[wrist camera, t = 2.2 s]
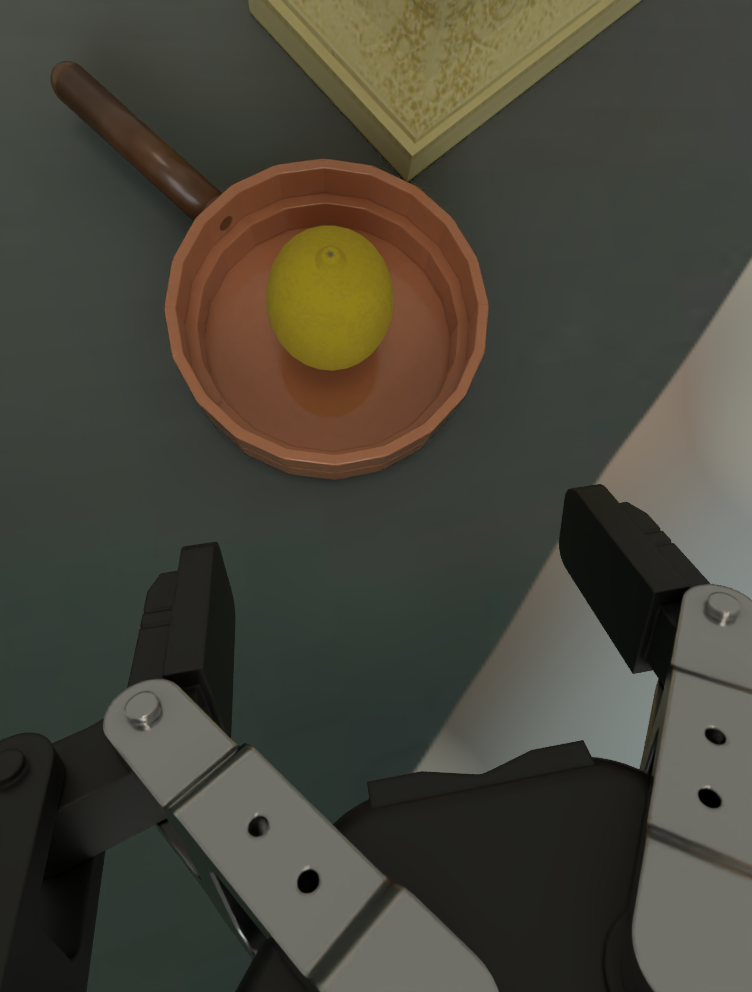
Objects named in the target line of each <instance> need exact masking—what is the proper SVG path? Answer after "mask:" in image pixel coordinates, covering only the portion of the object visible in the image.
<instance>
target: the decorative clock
mask: <svg viewBox="0 0 752 992" xmlns="http://www.w3.org/2000/svg"><path fill="white" fill-rule="evenodd" d="M248 1H249V9H250V13H251V14H252V15H253V16H254V17H255V18H256V20H257V21H258V22H259V23H260V24H261V25H262V26H263V27H264V28H265V29H266V30H267V31H268V33H269V34H270V35H271V36H272V37H273V38H274V39H275V40H276V41H277V42H278V43H279V44H280V46H281V47H282V48H283V49H284V50H285V51H286V52H287V53H288V54H289V55H290V56H291V57H292V59H293V60H294V61H295V62H296V63H297V64H298V65H299V66H300V67H301V68H302V69H303V70H304V72H305V73H306V74H307V75H308V76H309V77H310V78H311V79H312V80H313V81H314V82H315V83H316V85H317V86H318V87H319V88H320V89H321V90H322V91H323V92H324V93H325V94H326V95H327V96H328V98H329V99H330V100H331V101H332V102H333V103H334V104H335V105H336V106H337V107H338V108H339V109H340V110H341V112H342V113H343V114H344V115H345V116H346V117H347V118H348V119H349V120H350V121H351V122H352V123H353V125H354V126H355V127H356V128H357V129H358V130H359V131H360V132H361V133H362V134H363V135H364V136H365V138H366V139H367V140H368V141H369V142H370V143H371V144H372V145H373V146H374V147H375V148H376V149H377V151H378V152H379V153H380V154H381V155H382V156H383V157H384V158H385V159H386V160H387V161H388V162H389V164H390V165H391V166H392V167H393V168H394V169H395V170H396V171H397V172H398V173H399V174H400V175H401V177H402V178H403V179H404V180H405V181H406V182H408V181H410V180H411V179H412V178H413V177H415V176H416V175H417V174H419V173H420V172H421V171H423V170H424V169H425V168H426V167H428V166H429V165H430V164H432V163H433V162H434V161H435V160H437V159H438V158H439V157H441V156H442V155H443V154H444V153H446V152H447V151H448V150H450V149H451V148H452V147H453V146H455V145H456V144H457V143H459V142H460V141H461V140H462V139H464V138H465V137H466V136H468V135H469V134H470V133H471V132H473V131H474V130H475V129H477V128H478V127H479V126H480V125H482V124H483V123H484V122H486V121H487V120H488V119H489V118H491V117H492V116H493V115H495V114H496V113H497V112H499V111H500V110H501V109H502V108H504V107H505V106H506V105H508V104H509V103H510V102H511V101H513V100H514V99H515V98H517V97H518V96H519V95H520V94H522V93H523V92H524V91H526V90H527V89H528V88H529V87H531V86H532V85H533V84H535V83H536V82H537V81H538V80H540V79H541V78H542V77H544V76H545V75H546V74H547V73H549V72H550V71H551V70H553V69H554V68H555V67H556V66H558V65H559V64H560V63H562V62H563V61H564V60H566V59H567V58H568V57H569V56H571V55H572V54H573V53H575V52H576V51H577V50H578V49H580V48H581V47H582V46H584V45H585V44H586V43H587V42H589V41H590V40H591V39H593V38H594V37H595V36H596V35H598V34H599V33H600V32H602V31H603V30H604V29H605V28H607V27H608V26H609V25H611V24H612V23H613V22H614V21H616V20H617V19H618V18H620V17H621V16H622V15H623V14H625V13H626V12H627V11H629V10H630V9H631V8H632V7H634V6H635V5H636V4H638V3H639V2H640V1H642V0H248Z"/></svg>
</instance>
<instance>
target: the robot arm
mask: <svg viewBox="0 0 752 992" xmlns="http://www.w3.org/2000/svg"><path fill="white" fill-rule="evenodd" d="M559 550H560V555H561V559H562V562H563V564H564V566H565V568H566V569H567V571H568V573H569V574H570V575H571V577H572V579H573V580H574V582H575V584H576V585H577V587H578V588H579V590H580V591H581V593H582V594H583V596H584V598H585V599H586V601H587V602H588V604H589V606H590V607H591V609H592V610H593V612H594V613H595V615H596V616H597V618H598V620H599V621H600V623H601V624H602V626H603V628H604V629H605V631H606V632H607V634H608V635H609V637H610V639H611V640H612V642H613V643H614V645H615V646H616V648H617V650H618V651H619V653H620V654H621V656H622V657H623V659H624V660H625V662H626V664H627V665H628V667H629V668H630V670H631V672H632V673H633V674H635V673H641V672H646V671H651V670H653V671H654V672H655V674H656V675H657V677H658V678H659V679H658V682H657V685H656V689H655V694H654V699H653V705H652V710H651V715H650V720H649V725H648V731H647V736H646V741H645V746H644V751H643V757H642V761H641V765H640V769H637V768H634V767H632V766H629V765H627V764H624V763H620V762H617V761H613V760H608V759H603V758H595V757H591V755H590V753H589V751H588V749H587V747H586V745H585V743H584V741H583V740H581V741H576V742H571V743H566V744H561V745H556V746H550V747H545V748H540V749H535V750H531V751H529V752H527V753H525V754H523V755H521V756H519V757H517V758H515V759H513V760H511V761H509V762H507V763H505V764H503V765H500V766H498V767H496V768H494V769H492V770H490V771H488V772H486V773H483V774H457V773H440V772H416V773H411V774H406V775H401V776H396V777H390V778H385V779H380V780H375V781H370V782H367V785H368V792H369V800H367V801H365V802H363V803H361V804H359V805H357V806H356V807H354V808H353V809H351V810H350V811H348V812H347V813H345V814H344V815H343V816H342V817H341V818H339V819H338V820H337V821H336V822H335V823H334V824H333V825H332V824H331V823H330V822H329V821H328V820H327V819H326V818H325V817H324V816H323V815H322V814H321V813H320V812H319V811H318V810H317V809H316V808H315V807H314V806H313V805H312V804H311V803H310V802H309V801H308V800H307V799H306V798H305V797H304V796H303V795H302V794H301V793H300V792H299V791H298V790H297V789H296V788H295V787H294V786H293V785H292V784H291V783H290V782H289V781H288V780H287V779H286V778H284V777H283V776H282V775H281V774H280V773H279V772H278V771H277V770H276V769H275V768H274V767H273V766H272V765H271V764H270V763H269V762H268V761H267V760H266V759H265V758H264V757H263V756H262V755H261V754H260V753H259V752H258V751H257V750H256V749H255V748H253V747H252V746H251V745H249V744H247V743H244V744H243V745H242V746H238V745H237V744H236V743H234V742H233V741H232V740H231V726H232V699H233V671H234V644H235V607H234V600H233V594H232V590H231V587H230V583H229V579H228V576H227V572H226V569H225V565H224V561H223V558H222V554H221V550H220V547H219V545H218V543H217V542H211V543H204V544H198V545H191V546H185V547H182V549H181V555H180V561H179V567H178V571H174V572H167V573H161V574H160V575H159V577H158V578H157V579H156V581H155V582H154V583H153V585H152V586H151V587H150V589H149V590H148V592H147V596H146V601H145V606H144V614H143V615H142V620H141V625H140V626H141V629H140V630H139V635H138V639H137V644H136V649H135V654H134V658H133V663H132V668H131V673H130V677H129V682H128V686H127V689H125V690H124V691H123V692H121V693H120V694H119V695H118V696H117V697H116V698H115V699H114V700H113V701H112V702H111V704H110V705H109V707H108V708H107V710H106V713H105V715H104V718H103V719H102V720H100V721H99V722H97V723H96V724H94V725H92V726H90V727H88V728H86V729H84V730H82V731H79V732H77V733H75V734H73V735H71V736H68V737H66V738H64V739H62V740H59V741H57V742H55V743H53V744H51V742H50V741H49V739H47V738H46V737H45V736H43V735H41V734H37V733H22V734H17V735H13V736H10V737H8V738H6V739H3V740H1V741H0V992H86V990H87V982H88V975H89V967H90V960H91V953H92V945H93V938H94V930H95V923H96V915H97V908H98V901H99V893H100V886H101V878H102V871H103V864H104V856H105V850H107V849H109V848H111V847H113V846H115V845H117V844H119V843H120V842H122V841H124V840H126V839H128V838H130V837H132V836H134V835H136V834H138V833H140V832H141V831H143V830H145V829H147V828H149V827H151V826H153V825H155V826H156V828H157V829H158V830H159V832H160V833H161V834H162V835H163V837H164V838H165V839H166V841H167V842H168V843H169V845H170V846H171V847H172V849H173V850H174V851H175V853H176V854H177V855H178V856H179V858H180V859H181V860H182V862H183V863H184V864H185V866H186V867H187V868H188V870H189V871H190V872H191V874H192V875H193V876H194V877H195V879H196V880H197V881H198V883H199V884H200V885H201V887H202V888H203V889H204V891H205V892H206V894H207V895H208V897H209V898H210V900H211V901H212V903H213V904H214V906H215V907H216V909H217V911H218V912H219V914H220V915H221V917H222V918H223V920H224V921H225V923H226V924H227V925H228V927H229V928H230V930H231V931H232V932H233V934H234V935H235V936H236V938H237V939H238V940H239V942H240V943H241V944H242V946H243V947H244V948H245V950H246V951H247V952H248V954H249V955H250V956H251V958H252V959H253V960H252V962H251V964H250V966H249V968H248V970H247V971H246V973H245V975H244V977H243V979H242V980H241V982H240V984H239V986H238V988H237V990H236V991H235V992H752V600H751V599H750V598H749V597H747V596H746V595H744V594H742V593H741V592H739V591H737V590H734V589H732V588H728V587H725V586H721V585H714V584H710V583H709V582H708V581H707V579H706V578H705V577H704V576H703V575H702V574H701V573H700V572H699V570H698V569H697V568H696V567H695V566H694V565H693V564H692V563H691V562H690V560H689V559H688V558H687V557H686V556H685V555H684V554H683V553H682V552H681V551H680V549H679V548H678V547H677V546H676V545H675V544H674V543H671V539H670V538H669V537H668V536H667V535H666V534H665V533H664V532H663V531H661V530H660V527H659V526H658V525H657V524H656V523H655V522H654V521H653V520H652V519H651V517H649V515H648V514H647V513H645V512H644V511H642V510H640V509H638V508H637V507H635V506H633V505H631V504H630V503H628V502H623V503H619V502H618V501H617V500H616V499H615V498H614V496H613V495H612V494H611V493H610V492H609V491H608V489H607V488H606V487H605V486H603V485H601V484H598V485H591V486H585V487H578V488H571V489H568V490H567V492H566V494H565V499H564V507H563V515H562V522H561V530H560V537H559Z"/></svg>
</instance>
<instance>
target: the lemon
mask: <svg viewBox="0 0 752 992" xmlns="http://www.w3.org/2000/svg"><path fill="white" fill-rule="evenodd" d="M393 304H394V296H393V289H392V282H391V277H390V274H389V272H388V269H387V267H386V264H385V262H384V260H383V258H382V256H381V255H380V254H379V252H378V251H377V250H376V248H375V247H374V246H373V244H372V243H370V242H369V241H368V240H367V239H366V238H364V237H363V236H362V235H360V234H358V233H356V232H354V231H352V230H350V229H347V228H343V227H339V226H318V227H314V228H310V229H307V230H305V231H303V232H301V233H299V234H297V235H295V236H294V237H293V238H292V239H291V240H290V241H289V242H288V243H286V244H285V245H284V246H283V248H282V249H281V251H280V252H279V254H278V255H277V257H276V259H275V260H274V262H273V265H272V268H271V271H270V274H269V278H268V281H267V289H266V308H267V312H268V316H269V320H270V324H271V327H272V329H273V331H274V333H275V335H276V337H277V339H278V340H279V342H280V344H281V345H282V346H283V347H284V348H285V349H286V350H287V351H288V352H289V354H290V355H291V356H293V357H294V358H296V359H297V360H299V361H300V362H302V363H303V364H305V365H307V366H310V367H313V368H316V369H319V370H330V371H334V370H341V369H347V368H349V367H352V366H354V365H357V364H359V363H361V362H362V361H363V360H365V359H366V358H367V357H369V356H370V355H371V354H373V352H374V351H375V350H376V348H377V347H378V346H379V345H380V343H381V342H382V341H383V339H384V337H385V335H386V332H387V330H388V328H389V325H390V323H391V319H392V311H393Z"/></svg>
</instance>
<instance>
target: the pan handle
mask: <svg viewBox="0 0 752 992" xmlns="http://www.w3.org/2000/svg"><path fill="white" fill-rule="evenodd" d="M51 85H52V88H53V90H54V92H55V94H56V95H57V97H58V98H59V99H60V100H61V101H62V102H63V103H65V104H66V105H67V106H68V107H69V108H70V109H71V110H72V111H73V112H75V113H76V114H77V115H78V116H79V117H80V118H81V119H82V120H83V121H84V122H86V123H87V124H88V125H89V126H90V127H91V128H92V129H93V130H94V131H95V132H97V133H98V134H99V135H100V136H101V137H102V138H103V139H104V140H105V141H106V142H108V143H109V144H110V145H111V146H112V147H113V148H114V149H115V150H116V151H117V152H119V153H120V154H121V155H122V156H123V157H124V158H125V159H126V160H127V161H129V162H130V163H131V164H132V165H133V166H134V167H135V168H136V169H137V170H138V171H140V172H141V173H142V174H143V175H144V176H145V177H146V178H147V179H148V180H149V181H151V182H152V183H153V184H154V185H155V186H156V187H157V188H158V189H159V190H160V191H162V192H163V193H164V194H165V195H166V196H167V197H168V198H169V199H170V200H172V201H173V202H174V203H175V204H176V205H177V206H178V207H179V208H180V209H181V210H183V211H184V212H185V213H186V214H187V215H188V216H189V217H190V218H191V219H192V220H195V219H196V217H197V216H198V215H199V214H201V213H202V212H203V211H204V210H205V209H206V208H207V207H208V206H209V205H210V204H211V203H213V202H214V201H215V200H216V199H217V198H218V197H219V196H220V195H221V194H222V193H221V192H220V191H219V190H218V189H216V188H215V187H214V186H213V185H212V184H211V183H210V182H209V181H208V180H206V179H205V178H204V177H203V176H202V175H201V174H200V173H199V172H198V171H196V170H195V169H194V168H193V167H192V166H191V165H190V164H189V163H188V162H186V161H185V160H184V159H183V158H182V157H181V156H180V155H179V154H178V153H177V152H175V151H174V150H173V149H172V148H171V147H170V146H169V145H168V144H167V143H165V142H164V141H163V140H162V139H161V138H160V137H159V136H158V135H157V134H155V133H154V132H153V131H152V130H151V129H150V128H149V127H148V126H147V125H145V124H144V123H143V122H142V121H141V120H140V119H139V118H138V117H137V116H136V115H134V114H133V113H132V112H131V111H130V110H129V109H128V108H127V107H126V106H124V105H123V104H122V103H121V102H120V101H119V100H118V99H117V98H116V97H114V96H113V95H112V94H111V93H110V92H109V91H108V90H107V89H106V88H105V87H103V86H102V85H101V84H100V83H99V82H98V81H97V80H96V79H95V78H93V77H92V76H91V75H90V74H89V73H88V72H87V71H86V70H85V69H83V68H82V67H81V66H80V65H78V64H76V63H74V62H70V61H63V62H60V63H58V64H57V65H56V66H55V67H54V68H53V70H52V72H51ZM231 223H232V217H231V216H228V217H226V218H225V219H224V220H223V221H222V222H221V225H220V230H221V231H225V230H226V229H228V228H229V226H230V225H231Z"/></svg>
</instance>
